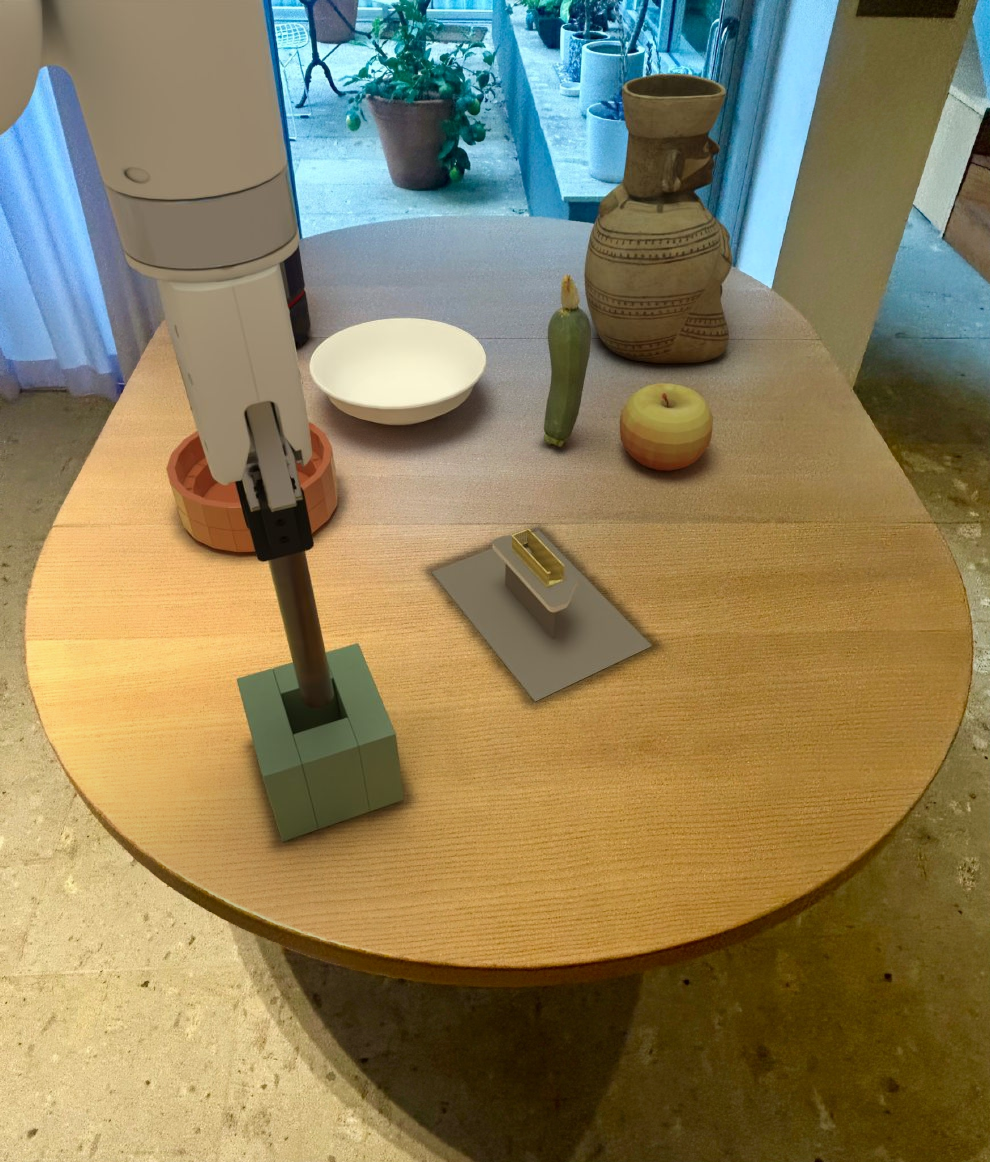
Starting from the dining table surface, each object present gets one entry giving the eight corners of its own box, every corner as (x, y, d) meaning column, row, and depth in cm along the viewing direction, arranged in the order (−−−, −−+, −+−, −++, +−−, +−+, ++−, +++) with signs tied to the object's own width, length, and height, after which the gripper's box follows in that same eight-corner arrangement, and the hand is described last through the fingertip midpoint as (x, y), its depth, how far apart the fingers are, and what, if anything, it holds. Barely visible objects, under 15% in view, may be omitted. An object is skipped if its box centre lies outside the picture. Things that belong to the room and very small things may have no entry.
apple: (599, 463, 96) (605, 398, 90) (641, 421, 102) (649, 358, 96) (682, 494, 92) (694, 429, 86) (721, 449, 97) (734, 385, 92)
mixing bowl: (195, 573, 83) (179, 524, 79) (172, 480, 93) (157, 432, 89) (357, 532, 87) (350, 483, 83) (317, 448, 98) (309, 401, 93)
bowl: (518, 426, 101) (519, 376, 96) (356, 477, 94) (349, 426, 89) (440, 350, 113) (438, 303, 109) (292, 390, 106) (283, 341, 102)
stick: (305, 712, 60) (247, 472, 46) (298, 689, 61) (239, 449, 48) (337, 702, 60) (289, 462, 47) (329, 679, 62) (280, 440, 48)
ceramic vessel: (747, 318, 120) (799, 69, 99) (703, 393, 106) (754, 122, 85) (614, 291, 126) (638, 51, 105) (556, 358, 112) (570, 97, 91)
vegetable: (561, 429, 100) (572, 256, 87) (590, 445, 98) (606, 270, 84) (534, 445, 98) (541, 270, 84) (563, 461, 96) (575, 284, 82)
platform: (538, 530, 87) (541, 476, 83) (652, 645, 76) (662, 591, 72) (431, 572, 83) (427, 517, 78) (534, 701, 72) (537, 646, 67)
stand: (282, 842, 62) (262, 777, 57) (256, 745, 69) (236, 678, 63) (404, 800, 65) (395, 733, 60) (368, 710, 71) (358, 642, 66)
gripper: (100, 166, 43) (192, 475, 55) (137, 307, 32) (241, 651, 45) (256, 145, 45) (310, 448, 57) (340, 272, 34) (384, 610, 47)
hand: (279, 535), depth 51 cm, fingers closed on stick, 2 cm apart
